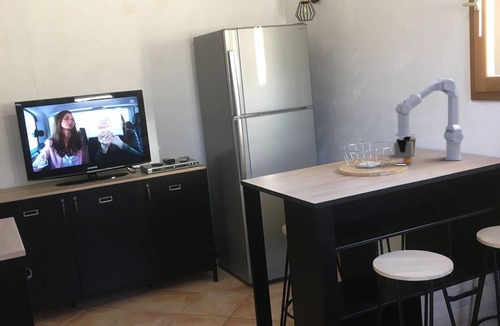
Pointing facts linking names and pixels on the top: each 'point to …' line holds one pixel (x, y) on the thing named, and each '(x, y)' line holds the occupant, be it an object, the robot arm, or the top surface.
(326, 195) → the top surface
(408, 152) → the grey block
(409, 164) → the tape square
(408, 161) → the ball
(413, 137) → the disposable coffee cup
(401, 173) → the top surface
